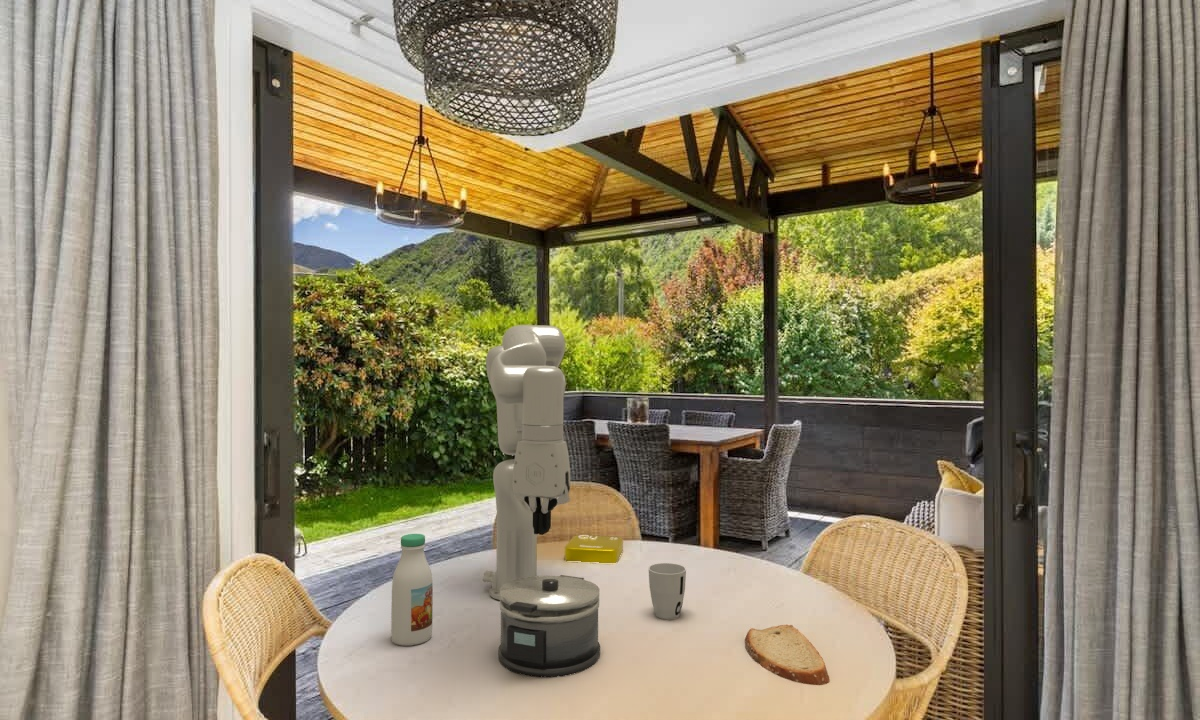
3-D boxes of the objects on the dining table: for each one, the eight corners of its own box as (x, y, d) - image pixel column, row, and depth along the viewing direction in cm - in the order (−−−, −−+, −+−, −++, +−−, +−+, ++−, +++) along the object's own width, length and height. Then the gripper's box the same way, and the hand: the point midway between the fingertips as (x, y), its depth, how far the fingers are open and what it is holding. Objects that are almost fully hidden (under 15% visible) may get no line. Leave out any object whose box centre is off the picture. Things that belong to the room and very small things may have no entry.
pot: (477, 667, 112) (477, 609, 113) (535, 622, 133) (535, 574, 133) (574, 686, 105) (574, 625, 106) (619, 636, 126) (619, 585, 126)
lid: (474, 605, 111) (474, 589, 111) (531, 576, 131) (531, 563, 131) (570, 620, 104) (570, 603, 105) (615, 587, 124) (615, 574, 124)
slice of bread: (824, 691, 105) (823, 668, 105) (722, 663, 115) (722, 642, 115) (850, 653, 119) (850, 632, 120) (758, 631, 130) (758, 612, 130)
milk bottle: (394, 650, 119) (396, 542, 120) (388, 635, 126) (389, 533, 127) (436, 642, 123) (437, 538, 123) (427, 628, 130) (428, 529, 130)
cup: (684, 623, 133) (684, 575, 133) (646, 620, 134) (646, 572, 135) (687, 609, 141) (687, 564, 141) (650, 607, 142) (650, 561, 143)
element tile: (563, 563, 177) (563, 546, 178) (574, 549, 192) (574, 533, 192) (616, 566, 175) (616, 548, 175) (623, 551, 190) (623, 535, 190)
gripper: (497, 433, 117) (496, 533, 117) (570, 438, 112) (569, 543, 112) (517, 429, 124) (516, 523, 124) (587, 433, 118) (586, 532, 118)
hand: (541, 532), depth 118 cm, fingers closed
